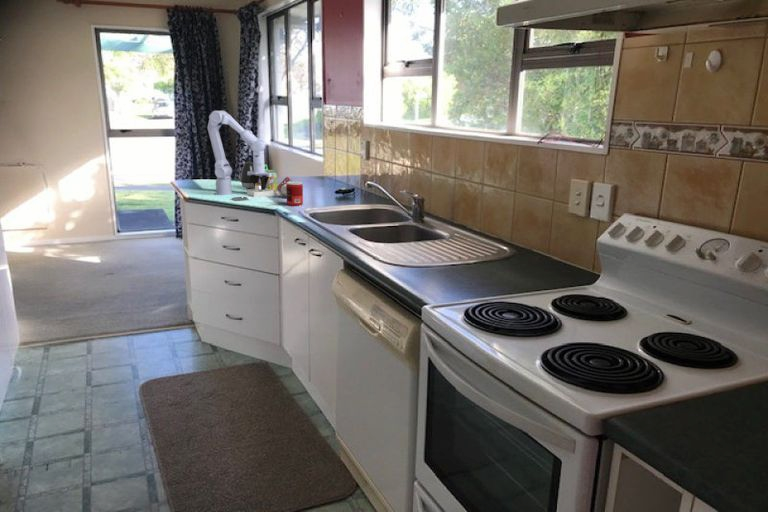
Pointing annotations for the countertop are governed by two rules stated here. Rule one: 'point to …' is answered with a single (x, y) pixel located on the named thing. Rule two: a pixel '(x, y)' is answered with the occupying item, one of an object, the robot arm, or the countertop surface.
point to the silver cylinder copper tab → (258, 187)
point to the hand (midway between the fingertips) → (260, 189)
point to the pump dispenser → (245, 177)
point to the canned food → (294, 193)
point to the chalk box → (271, 179)
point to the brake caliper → (283, 188)
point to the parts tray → (260, 193)
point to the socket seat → (239, 199)
